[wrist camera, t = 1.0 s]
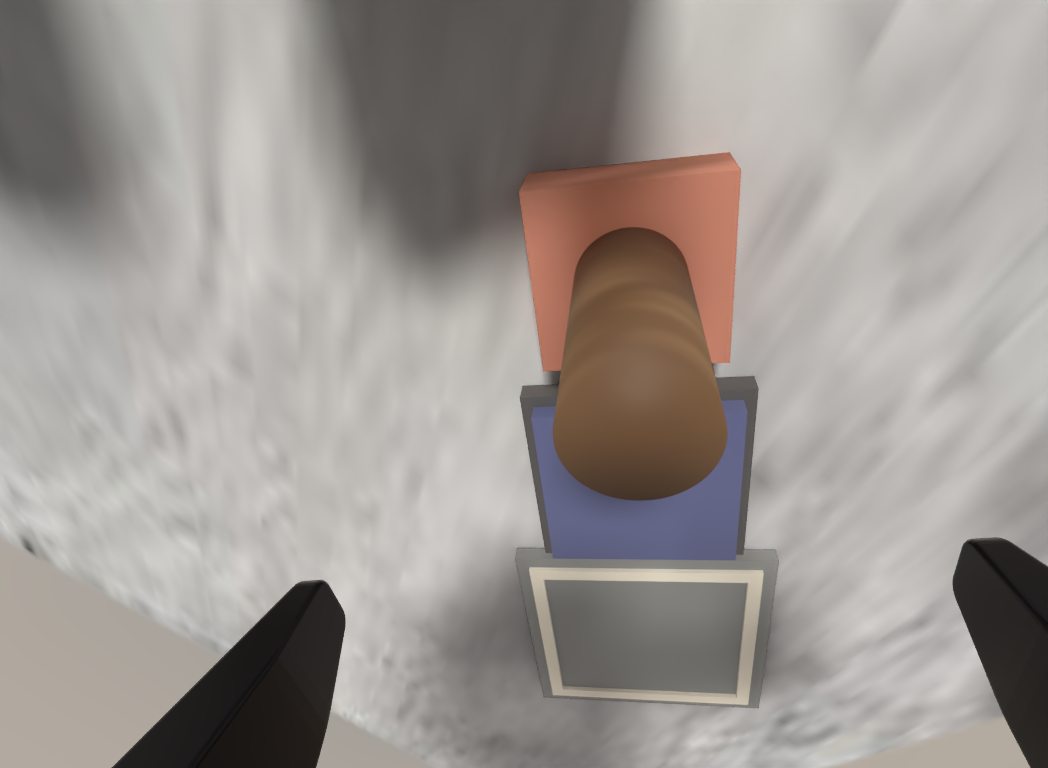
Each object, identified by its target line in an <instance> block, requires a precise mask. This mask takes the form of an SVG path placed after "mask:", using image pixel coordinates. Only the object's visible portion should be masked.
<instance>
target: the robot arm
mask: <svg viewBox="0 0 1048 768" xmlns="http://www.w3.org/2000/svg"><path fill="white" fill-rule="evenodd" d="M953 591H954V595H955V598H956V601H957V603H958V605H959V608H960V610H961V613H962V615H963V618H964V620H965V623H966V625H967V628H968V630H969V633H970V635H971V638H972V640H973V643H974V645H975V648H976V650H977V653H978V655H979V658H980V660H981V662H982V665H983V667H984V670H985V672H986V675H987V677H988V680H989V682H990V685H991V687H992V690H993V692H994V695H995V697H996V699H997V702H998V704H999V706H1000V709H1001V711H1002V713H1003V715H1004V717H1005V719H1006V721H1007V723H1008V725H1009V727H1010V729H1011V731H1012V733H1013V735H1014V737H1015V739H1016V741H1017V743H1018V744H1019V746H1020V748H1021V750H1022V752H1023V754H1024V756H1025V758H1026V760H1027V762H1028V764H1029V765H1030V767H1031V768H1048V566H1046V565H1045V564H1043V563H1042V562H1040V561H1039V560H1037V559H1036V558H1034V557H1033V556H1031V555H1030V554H1028V553H1027V552H1025V551H1024V550H1022V549H1021V548H1019V547H1018V546H1016V545H1015V544H1013V543H1011V542H1010V541H1008V540H1005V539H1003V538H995V537H994V538H979V539H969V540H967V541H966V542H965V543H964V544H963V546H962V549H961V553H960V556H959V559H958V563H957V566H956V570H955V573H954V576H953ZM344 631H345V614H344V611H343V609H342V607H341V605H340V603H339V602H338V600H337V598H336V596H335V595H334V593H333V591H332V590H331V588H330V586H329V585H328V583H327V582H325V581H323V580H312V581H302V582H299V583H297V584H296V585H295V586H294V587H292V588H291V589H290V590H289V591H288V592H287V593H286V594H285V595H284V596H283V597H282V598H281V599H280V600H279V601H278V602H277V603H276V604H275V605H274V606H273V607H272V608H271V609H270V610H269V611H268V612H267V613H266V614H265V615H264V616H263V617H262V618H261V619H260V620H259V621H258V622H257V623H256V624H255V625H254V626H253V627H252V628H251V629H250V630H249V631H248V632H247V633H246V634H245V635H244V636H243V637H242V638H241V639H240V640H239V641H238V642H237V643H236V644H235V645H234V646H233V647H232V648H231V649H230V650H229V651H228V652H227V653H226V654H225V655H224V656H223V657H222V658H221V659H220V660H219V661H218V663H216V664H215V665H214V666H213V667H212V668H211V669H210V670H209V671H208V672H207V673H206V674H205V675H204V676H203V677H202V678H201V679H200V680H199V681H198V682H197V683H196V684H195V685H194V686H193V687H192V688H191V689H190V690H189V691H188V692H187V693H186V694H185V695H184V696H183V697H182V698H181V699H180V700H179V701H178V702H177V703H176V704H175V705H174V706H173V707H172V708H171V709H170V710H169V711H168V712H167V713H166V714H165V715H164V716H163V717H162V718H161V719H160V720H159V721H158V722H157V723H156V724H155V725H154V726H153V727H152V728H151V729H150V730H149V731H148V732H147V733H146V734H145V735H144V736H143V737H142V738H141V739H140V740H139V741H138V742H137V743H136V744H135V745H134V746H133V747H132V748H131V749H130V750H129V751H128V752H127V753H126V754H125V755H124V756H123V757H122V758H121V759H120V760H119V761H118V762H117V763H116V764H115V765H114V766H113V767H112V768H316V766H317V762H318V759H319V755H320V751H321V748H322V744H323V740H324V736H325V732H326V729H327V724H328V720H329V715H330V710H331V705H332V699H333V693H334V688H335V682H336V676H337V671H338V665H339V659H340V654H341V648H342V642H343V637H344Z"/></svg>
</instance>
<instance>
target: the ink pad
mask: <svg viewBox="0 0 1048 768" xmlns="http://www.w3.org/2000/svg"><path fill="white" fill-rule="evenodd" d="M716 382H717V386H718V390H719V394H720V398H721V402H722V406H723V410H724V414H725V417H726V422H727V432H728V437H727V443H726V447H725V450H724V453H723V455H722V457H721V459H720V461H719V463H718V464H717V466H716V467H715V468H714V470H713V471H712V472H711V473H710V474H709V475H708V476H707V477H706V478H705V479H703V480H702V481H701V482H700V483H698V484H697V485H695V486H693V487H692V488H690V489H688V490H686V491H684V492H682V493H679V494H676V495H674V496H670V497H666V498H662V499H656V500H646V501H633V500H623V499H618V498H613V497H609V496H606V495H603V494H600V493H598V492H596V491H594V490H591V489H590V488H588V487H586V486H585V485H583V484H582V483H580V482H579V481H578V480H576V479H575V478H574V477H573V476H572V475H571V474H570V473H569V472H568V471H567V470H566V468H565V467H564V466H563V465H562V463H561V461H560V459H559V458H558V455H557V453H556V450H555V447H554V443H553V423H554V416H555V409H556V402H557V395H558V388H559V384H557V385H533V386H523V387H522V391H521V395H520V401H521V407H522V413H523V420H524V426H525V432H526V438H527V444H528V450H529V456H530V462H531V468H532V474H533V480H534V486H535V492H536V498H537V504H538V510H539V516H540V522H541V528H542V534H543V540H544V546H545V552H546V553H552V554H553V559H635V560H735V561H736V555H743V554H744V543H745V532H746V521H747V510H748V499H749V488H750V477H751V465H752V454H753V443H754V432H755V421H756V410H757V399H758V386H757V383H756V380H755V377H754V376H748V377H724V378H716Z"/></svg>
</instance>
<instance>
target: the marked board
mask: <svg viewBox="0 0 1048 768" xmlns="http://www.w3.org/2000/svg"><path fill="white" fill-rule="evenodd" d="M515 560H516V565H517V570H518V575H519V580H520V584H521V589H522V594H523V599H524V604H525V609H526V613H527V618H528V623H529V628H530V633H531V638H532V642H533V647H534V652H535V657H536V662H537V667H538V671H539V676H540V681H541V686H542V691H543V696H544V697H550V698H570V699H589V700H609V701H628V702H648V703H667V704H687V705H706V706H725V707H745V708H759V702H760V695H761V687H762V680H763V673H764V666H765V658H766V651H767V644H768V636H769V629H770V622H771V615H772V607H773V600H774V593H775V585H776V578H777V571H778V564H779V560H778V556H777V553H776V550H744V554H743V555H736V561H735V560H635V559H553V554H552V553H546V552H545V548H517V550H516V556H515Z"/></svg>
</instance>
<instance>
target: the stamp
mask: <svg viewBox="0 0 1048 768" xmlns="http://www.w3.org/2000/svg"><path fill="white" fill-rule="evenodd" d="M740 177H741V169H740V167H739V166H738V164H737V163H736V161H735V160H734V158H733V157H732V155H731V154H730V152H728V153H718V154H709V155H699V156H690V157H681V158H671V159H662V160H652V161H643V162H633V163H624V164H614V165H605V166H596V167H586V168H577V169H567V170H558V171H548V172H539V173H529V174H527V175H526V178H525V180H524V182H523V184H522V186H521V188H520V191H519V197H520V204H521V212H522V219H523V226H524V233H525V241H526V248H527V255H528V263H529V270H530V277H531V284H532V292H533V299H534V306H535V314H536V321H537V328H538V336H539V343H540V350H541V357H542V365H543V371H560V370H561V374H560V381H559V388H558V395H557V402H556V409H555V416H554V423H553V443H554V447H555V450H556V453H557V455H558V458H559V459H560V461H561V463H562V465H563V466H564V467H565V468H566V470H567V471H568V472H569V473H570V474H571V475H572V476H573V477H574V478H575V479H576V480H578V481H579V482H580V483H582V484H583V485H585V486H586V487H588V488H590V489H591V490H594V491H596V492H598V493H600V494H603V495H606V496H609V497H613V498H618V499H623V500H633V501H646V500H656V499H662V498H666V497H670V496H674V495H676V494H679V493H682V492H684V491H686V490H688V489H690V488H692V487H693V486H695V485H697V484H698V483H700V482H701V481H702V480H703V479H705V478H706V477H707V476H708V475H709V474H710V473H711V472H712V471H713V470H714V468H715V467H716V466H717V464H718V463H719V461H720V459H721V457H722V455H723V453H724V450H725V447H726V443H727V437H728V432H727V422H726V417H725V414H724V410H723V406H722V402H721V398H720V394H719V390H718V386H717V382H716V378H715V374H714V370H713V366H712V363H730V350H731V333H732V316H733V298H734V281H735V264H736V247H737V229H738V212H739V195H740Z"/></svg>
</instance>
